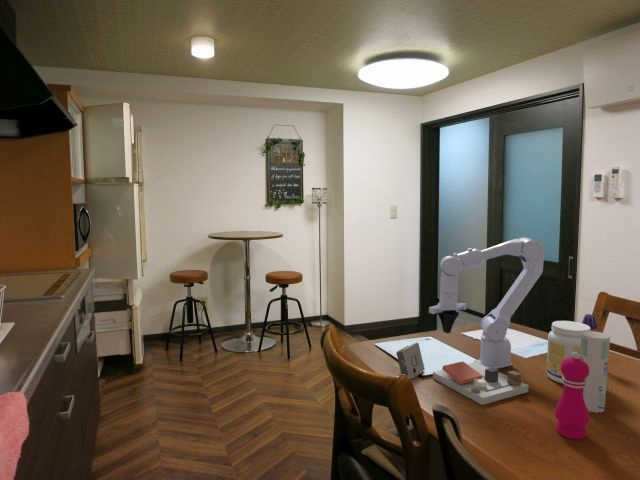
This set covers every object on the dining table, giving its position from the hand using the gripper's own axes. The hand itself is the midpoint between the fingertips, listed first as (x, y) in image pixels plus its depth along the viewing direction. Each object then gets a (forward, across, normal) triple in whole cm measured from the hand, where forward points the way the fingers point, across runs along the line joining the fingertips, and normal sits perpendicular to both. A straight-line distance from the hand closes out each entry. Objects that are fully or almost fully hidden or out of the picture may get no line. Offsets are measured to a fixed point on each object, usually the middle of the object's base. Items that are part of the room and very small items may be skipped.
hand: (446, 332), depth 154 cm
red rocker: (+7, +8, +16) cm, 20 cm away
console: (+10, +4, +18) cm, 21 cm away
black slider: (+8, +2, +21) cm, 23 cm away
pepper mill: (+10, +4, +48) cm, 50 cm away
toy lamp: (+10, -42, +22) cm, 48 cm away
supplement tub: (+10, -24, +27) cm, 38 cm away
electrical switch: (+11, +16, +2) cm, 20 cm away
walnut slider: (+8, -2, +26) cm, 27 cm away
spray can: (+10, -12, +42) cm, 45 cm away
